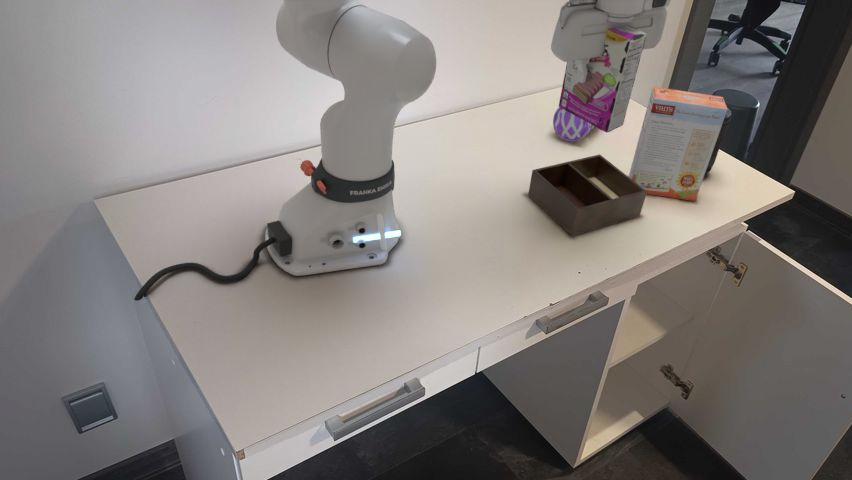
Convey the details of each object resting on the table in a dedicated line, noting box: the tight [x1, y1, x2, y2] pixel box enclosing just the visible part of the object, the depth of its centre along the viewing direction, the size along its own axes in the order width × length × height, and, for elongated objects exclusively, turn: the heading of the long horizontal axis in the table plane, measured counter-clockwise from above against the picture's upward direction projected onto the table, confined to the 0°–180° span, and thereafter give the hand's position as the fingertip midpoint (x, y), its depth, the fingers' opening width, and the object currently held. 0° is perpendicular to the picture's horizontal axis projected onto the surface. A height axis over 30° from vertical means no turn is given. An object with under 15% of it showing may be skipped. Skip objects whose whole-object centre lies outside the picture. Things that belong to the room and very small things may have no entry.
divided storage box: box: [527, 154, 648, 237], centre depth 133 cm, size 17×15×6 cm
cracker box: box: [628, 86, 728, 202], centre depth 136 cm, size 14×6×21 cm, turn 84°
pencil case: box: [552, 106, 596, 142], centre depth 158 cm, size 22×9×10 cm, turn 158°
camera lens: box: [703, 107, 732, 179], centre depth 146 cm, size 8×8×15 cm
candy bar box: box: [558, 26, 647, 133], centre depth 113 cm, size 11×5×16 cm, turn 46°
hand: (599, 78), depth 114 cm, fingers closed on candy bar box, 5 cm apart
